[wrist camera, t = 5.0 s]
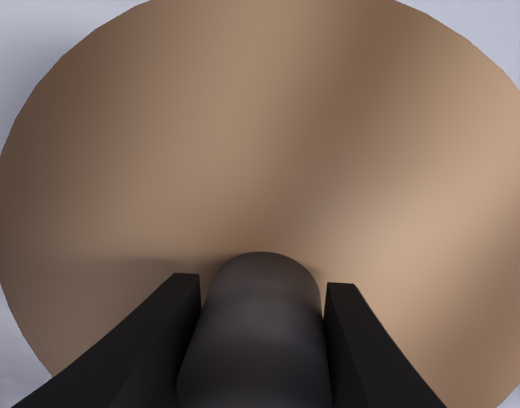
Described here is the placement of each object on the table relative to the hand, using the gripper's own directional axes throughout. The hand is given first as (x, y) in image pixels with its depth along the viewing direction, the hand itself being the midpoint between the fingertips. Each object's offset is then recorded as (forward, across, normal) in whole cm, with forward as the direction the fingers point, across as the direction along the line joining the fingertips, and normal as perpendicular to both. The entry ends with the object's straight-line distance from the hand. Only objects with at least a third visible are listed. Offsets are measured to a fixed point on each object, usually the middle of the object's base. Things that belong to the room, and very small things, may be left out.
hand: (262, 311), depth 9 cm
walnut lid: (+2, 0, 0) cm, 2 cm away
